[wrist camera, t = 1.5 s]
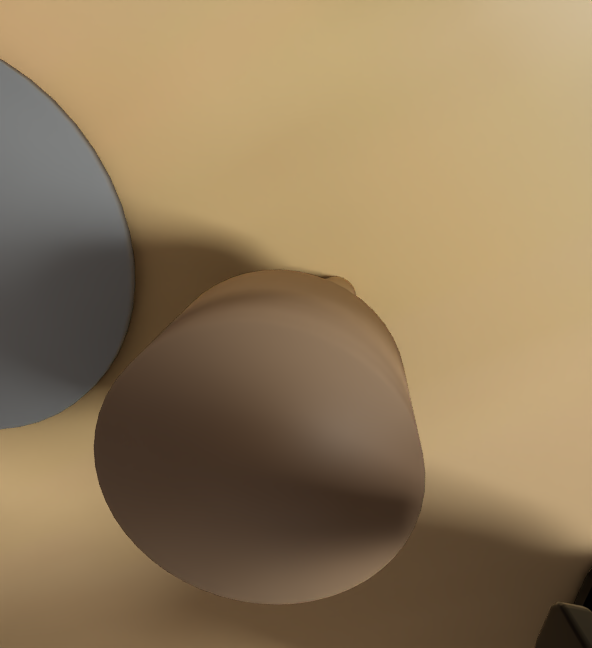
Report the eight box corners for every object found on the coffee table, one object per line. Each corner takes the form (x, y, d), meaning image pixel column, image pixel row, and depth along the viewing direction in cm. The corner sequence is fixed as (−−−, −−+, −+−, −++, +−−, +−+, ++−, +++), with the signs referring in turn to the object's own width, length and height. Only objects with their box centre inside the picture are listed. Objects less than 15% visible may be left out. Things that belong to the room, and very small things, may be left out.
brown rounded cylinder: (373, 444, 16) (386, 630, 10) (191, 411, 16) (94, 571, 10) (416, 263, 14) (464, 357, 8) (205, 228, 14) (93, 293, 8)
